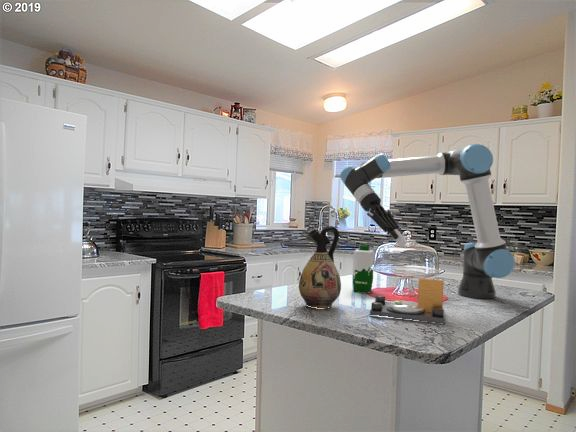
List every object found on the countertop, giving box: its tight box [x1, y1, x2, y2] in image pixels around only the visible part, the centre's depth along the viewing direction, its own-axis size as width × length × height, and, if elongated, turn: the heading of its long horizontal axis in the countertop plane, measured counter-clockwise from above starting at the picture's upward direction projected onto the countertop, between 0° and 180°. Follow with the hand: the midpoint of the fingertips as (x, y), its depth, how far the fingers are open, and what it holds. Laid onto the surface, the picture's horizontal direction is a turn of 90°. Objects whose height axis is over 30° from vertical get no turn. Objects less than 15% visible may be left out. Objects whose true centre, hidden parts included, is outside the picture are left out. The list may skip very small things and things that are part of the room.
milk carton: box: [352, 244, 375, 293], centre depth 193 cm, size 9×9×20 cm
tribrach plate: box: [369, 294, 446, 324], centre depth 154 cm, size 24×17×4 cm
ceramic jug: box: [298, 225, 342, 309], centre depth 161 cm, size 17×15×30 cm
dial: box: [386, 278, 445, 314], centre depth 151 cm, size 18×13×11 cm
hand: (404, 244), depth 160 cm, fingers closed
